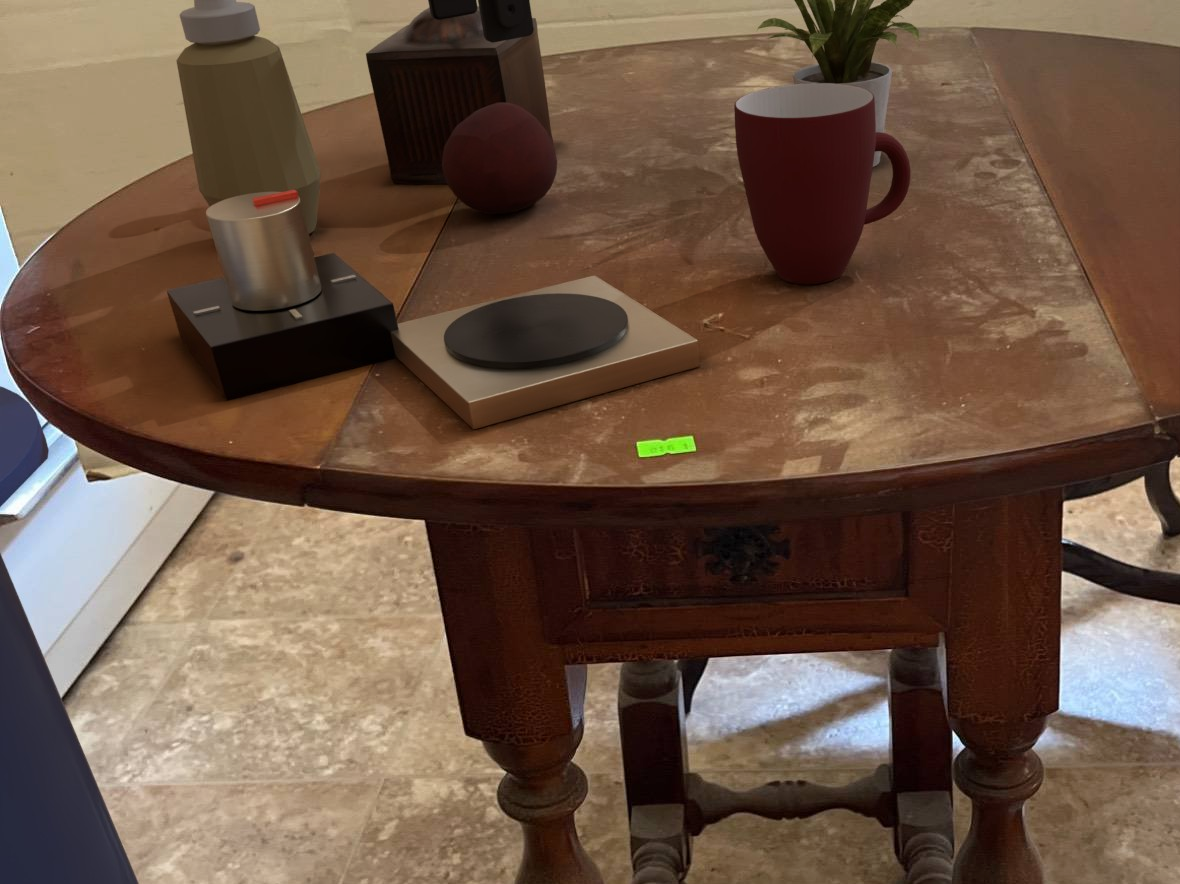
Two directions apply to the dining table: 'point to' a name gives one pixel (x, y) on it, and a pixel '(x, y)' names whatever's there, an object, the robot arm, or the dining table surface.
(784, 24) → the house plant
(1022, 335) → the dining table surface
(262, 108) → the squeeze bottle
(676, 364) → the hotplate
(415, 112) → the grooved wooden box
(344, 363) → the control panel
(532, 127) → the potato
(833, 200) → the mug
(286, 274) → the dial
